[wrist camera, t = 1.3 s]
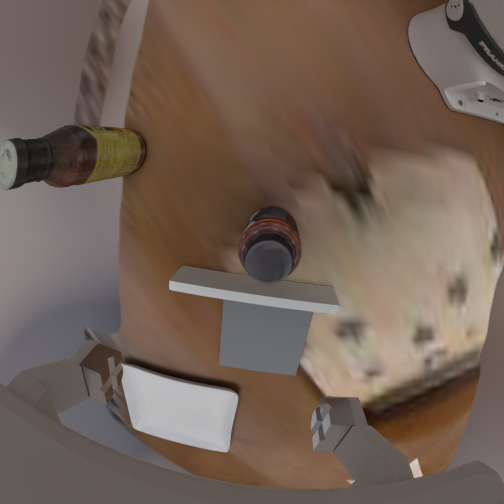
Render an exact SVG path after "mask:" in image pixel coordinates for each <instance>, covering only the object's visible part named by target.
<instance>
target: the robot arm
mask: <svg viewBox="0 0 504 504" xmlns="http://www.w3.org/2000/svg"><path fill="white" fill-rule="evenodd" d="M408 36H409V42H410V45H411V48H412V51H413V53H414V55H415V57H416V59H417V61H418V63H419V64H420V66H421V67H422V69H423V70H424V72H425V73H426V74H427V75H428V77H429V78H430V79H431V80H432V81H433V82H434V83H435V84H436V86H437V87H438V89H439V90H440V93H441V95H442V97H443V99H444V101H445V103H446V105H447V106H448V108H449V109H451V110H453V111H456V112H461V113H465V114H469V115H473V116H477V117H481V118H484V119H488V120H491V121H495V122H498V123H501V124H504V0H448V2H446V3H444V4H442V5H440V6H438V7H436V8H433V9H431V10H428V11H425V12H422V13H419V14H417V15H415V16H414V17H413V18H412V20H411V21H410V24H409V28H408ZM459 102H460V105H459ZM121 360H122V356H121V352H119V351H117V350H114V349H112V348H109V347H107V346H104V345H102V344H100V343H97V342H94V341H92V340H87V341H86V342H85V343H84V344H83V345H82V346H81V347H80V348H79V349H78V350H77V352H75V353H74V355H73V356H72V357H71V358H70V359H69V360H67V359H64V360H60V361H57V362H54V363H50V364H46V365H42V366H39V367H35V368H32V369H27V370H24V371H21V372H20V373H19V374H18V375H17V376H16V377H15V378H14V379H13V380H12V381H11V382H10V383H9V384H8V385H7V387H5V386H4V385H3V384H1V383H0V504H504V482H503V480H502V479H501V477H500V475H499V474H498V473H497V472H496V471H495V470H493V469H492V468H490V467H489V466H487V465H485V464H484V463H482V462H480V461H472V462H470V463H467V464H463V465H461V466H458V467H455V468H452V469H449V470H445V471H441V472H438V473H434V474H430V475H426V476H422V477H418V478H414V477H413V474H412V471H411V468H410V465H409V462H408V459H407V456H405V455H404V454H403V453H402V452H401V451H399V450H398V449H397V448H396V447H395V446H393V445H392V444H391V443H390V442H389V441H388V440H386V439H385V438H384V437H383V436H382V435H381V434H379V433H378V432H377V431H376V430H375V429H374V428H373V427H371V426H368V425H367V422H366V419H365V416H364V412H363V409H362V406H361V403H360V400H359V398H356V397H334V396H323V397H322V398H321V399H320V401H319V405H320V407H318V408H316V409H315V411H314V413H313V415H312V419H311V430H312V431H313V432H314V433H315V435H314V436H313V438H312V439H313V449H314V450H315V451H334V452H333V453H334V454H335V455H336V457H337V458H338V459H339V461H340V462H341V463H342V464H343V466H344V467H345V468H346V469H347V471H348V472H349V473H350V475H351V476H352V477H353V478H354V479H355V482H354V483H352V484H351V485H350V486H349V487H348V488H339V489H284V488H270V487H259V486H250V485H243V484H236V483H229V482H223V481H218V480H213V479H208V478H203V477H199V476H194V475H190V474H186V473H182V472H178V471H175V470H171V469H167V468H164V467H161V466H157V465H155V464H151V463H148V462H145V461H142V460H140V459H137V458H134V457H132V456H129V455H126V454H124V453H121V452H119V451H116V450H114V449H112V448H109V447H107V446H105V445H102V444H100V443H98V442H96V441H94V440H92V439H90V438H87V437H85V436H83V435H81V434H79V433H78V432H75V431H74V430H72V429H70V428H68V427H66V426H64V425H63V424H61V421H60V419H59V417H58V415H57V414H59V413H61V412H63V411H65V410H67V409H69V408H71V407H73V406H75V405H77V404H79V403H81V402H83V401H85V400H87V399H89V397H90V398H92V399H95V400H97V401H99V402H102V403H104V404H108V402H109V400H110V399H111V397H112V396H113V389H115V388H117V387H118V386H119V385H120V383H121V380H122V377H123V367H122V365H121V364H120V361H121Z"/></svg>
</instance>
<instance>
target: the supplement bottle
mask: <svg viewBox="0 0 504 504" xmlns="http://www.w3.org/2000/svg"><path fill="white" fill-rule="evenodd" d="M238 250H239V259H240V262H241V264H242V266H243V267H244V269H245V270H246V271H247V272H248V273H249V275H250V276H251V277H252V278H253V279H254V280H256V281H257V282H260V283H263V284H275V283H278V282H280V281H282V280H284V279H285V278H286V277H287V276H288V275H290V274H291V273H292V272H293V271H294V270H295V269H296V267H297V266H298V264H299V261H300V258H301V243H300V238H299V234H298V230H297V226H296V223H295V221H294V219H293V217H292V216H291V215H290V214H289V213H288V212H287V211H286V210H284V209H282V208H279V207H274V206H270V207H265V208H262V209H260V210H258V211H257V212H256V213H254V215H253V216H252V217H251V218H250V220H249V222H248V224H247V226H246V229H245V231H244V233H243V235H242V237H241V240H240V243H239V249H238Z"/></svg>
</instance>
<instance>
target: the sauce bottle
mask: <svg viewBox="0 0 504 504" xmlns="http://www.w3.org/2000/svg"><path fill="white" fill-rule="evenodd" d="M145 151H146V148H145V143H144V140H143V139H142V137H141V136H140V135H139V134H138V133H137V132H135V131H131V130H129V129H125V128H114V127H102V126H85V125H67V126H64V127H62V128H60V129H58V130H56V131H54V132H52V133H50V134H47V135H46V136H43V137H42V138H37V139H28V140H23V139H20V138H14V139H9V140H6V141H4V142H3V143H2V144H1V145H0V186H1V188H3V189H5V190H10V189H14V188H18V187H20V186H22V185H23V184H25V183H29V182H34V181H36V182H40V181H41V180H43V181H44V182H46V183H47V184H49V185H50V186H54V187H60V188H62V187H68V186H71V185H81V184H86V183H90V182H95V181H100V180H104V179H110V178H115V177H121V176H125V175H127V174H131V173H133V172H135V171H136V170H137V169H138V168H139V167H140V165H141V164H142V163H143V161H144V158H145V154H146V153H145Z"/></svg>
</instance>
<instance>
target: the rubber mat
mask: <svg viewBox="0 0 504 504" xmlns="http://www.w3.org/2000/svg"><path fill="white" fill-rule="evenodd" d="M312 314H313V312H311V311H303V310H295V309H287V308H280V307H272V306H265V305H258V304H251V303H245V302H238V301H232V300H225V299H224V302H223V315H222V328H221V341H220V355H219V365H222V366H228V367H234V368H240V369H247V370H253V371H261V372H268V373H277V374H285V375H296V372H297V369H298V365H299V362H300V358H301V355H302V351H303V348H304V344H305V341H306V337H307V333H308V329H309V326H310V322H311V318H312Z"/></svg>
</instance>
